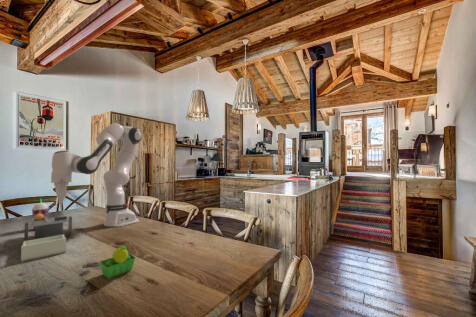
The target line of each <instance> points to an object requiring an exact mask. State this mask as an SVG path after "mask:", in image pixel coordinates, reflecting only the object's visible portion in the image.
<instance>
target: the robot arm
mask: <svg viewBox="0 0 476 317" xmlns="http://www.w3.org/2000/svg"><path fill="white" fill-rule="evenodd" d="M142 137H143V133H142V130H141V129H139V128H137V127H133V126H128V125H127V126H125V125H121V124H120V123H117V122H114V123H111V124H108V126H106V127H105V128H104V129H102V130H101V131H100V132H99V133H98V134H97V135H96V137H95V142H96V143H97V145H98V146H97V147H96V149H95V150H93V152H92V153H91V154H89V155H87V156H81V155H78V154H75V153H74V152H72V151H71V150H58V151H55V152H53V155H52V160H51V169H52V171H51V174H50V175H51V176H50V177H51V178H50V183H51V184H52V183H53V186H54V189H55V194H56V197H57V199H58V201H57V202H58V205H63V203H64V198H67V195H68V194H67V192H68V191H67V190H68V187H67V186H69V185H70V184H69V183H72V179H73V178H72V177H73V176H72V174H73V173H77V174H85V175H91V174H95V172H96V171H98V169H99V166H100V164H101V163H102V162H101V161H103V160H104V158H105V157H106V156H107V155H108V154H109V152H110V151H111V149H112V148H113V147H114V145H116V143H118V142H119V141H122V142H123V145H122V146H121V148H120V149H119V151H118V154H117V156H116V158H115V160H114V161H115V163H114V168H113V169H110V170H107V171H106V172H104V174H103V181H104V184H105V185H104V186H105V190H106V205H105V213H106V214H105V219H104V223H103V226H104V227H114V228H115V227H116V228H117V227H123V226H127V225H133V224H136V223H139V222H140V219H139V218H137V215H136V213H135V212H134V211H132V210H131V209H129V207H130V205H129V204H128V203H125V197H126V196H125V195H126V193H125V191H124V188H123V186H124V185H126V184H128V183H129V181H130V178H131V176H130V173H131V172H130V171H131V167H132V164H133V162H134V160H135V158H136V155H137V154H138V153H137V152H138V149H139V143H140V141H141V140H142Z"/></svg>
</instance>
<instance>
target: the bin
mask: <svg viewBox="0 0 476 317" xmlns="http://www.w3.org/2000/svg"><path fill="white" fill-rule="evenodd" d="M65 236H66V235H65V234H64V233H63V235H57V236H52V237H46V238H40V239H35V238H34V239H30V240H29V239H28V241H23V243H22V245H21V247H20V249H21V250H20V252H21V254H20V263H24V262H25V263H26V262H29V261H34V260H39V259H43V258H47V257H51V256H52V257H53V256H56V255H61V254H65V253H67V237H65Z"/></svg>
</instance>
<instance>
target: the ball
mask: <svg viewBox="0 0 476 317" xmlns="http://www.w3.org/2000/svg"><path fill="white" fill-rule="evenodd" d="M43 218H44V215H43V214H37V215H36V216H35V219H36V220H38V221H39V220H42V219H43Z"/></svg>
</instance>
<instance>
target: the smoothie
mask: <svg viewBox="0 0 476 317" xmlns="http://www.w3.org/2000/svg"><path fill="white" fill-rule="evenodd" d="M39 201H40V202H38V203H36V204H35V205H33V207H32V209H31V210H32V212H31V213H32V217H35V216H36V215H37V214H43V215H44V216H45V215H46V218H47V219H49V212H50V207H49V205H48V204H47V203H45V202H43V200H42V198H40V200H39ZM32 228H33V229H34V231H35V226H34V227H32Z"/></svg>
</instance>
